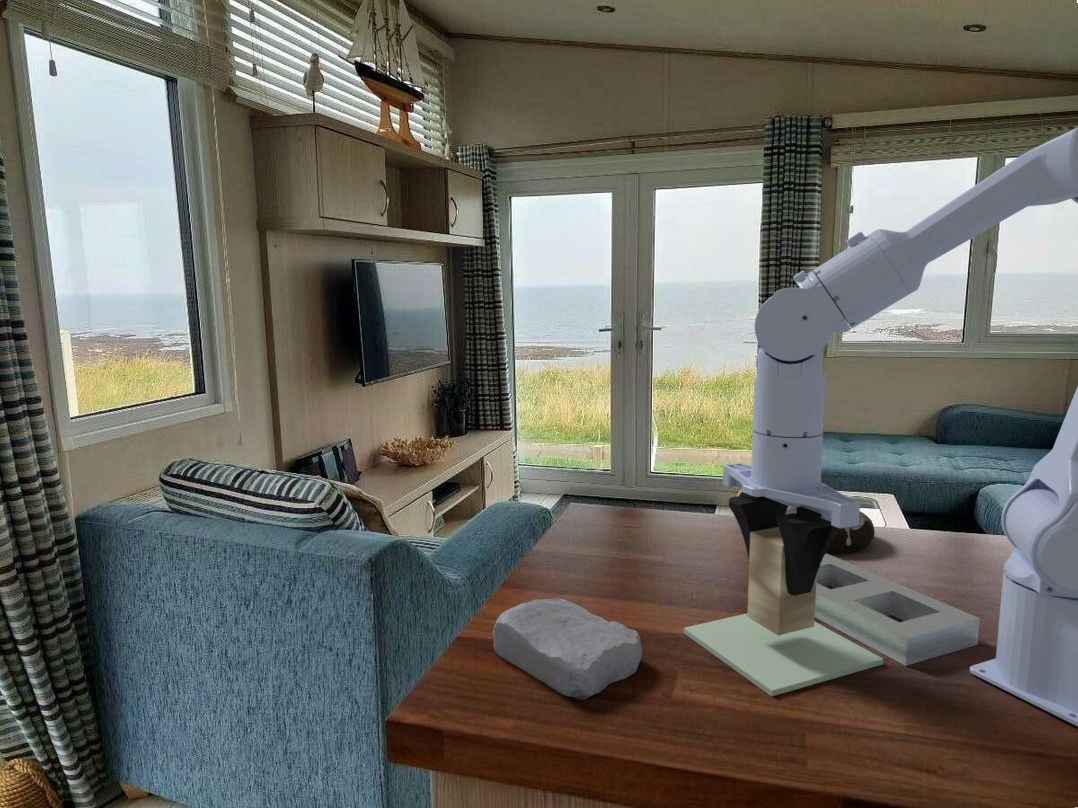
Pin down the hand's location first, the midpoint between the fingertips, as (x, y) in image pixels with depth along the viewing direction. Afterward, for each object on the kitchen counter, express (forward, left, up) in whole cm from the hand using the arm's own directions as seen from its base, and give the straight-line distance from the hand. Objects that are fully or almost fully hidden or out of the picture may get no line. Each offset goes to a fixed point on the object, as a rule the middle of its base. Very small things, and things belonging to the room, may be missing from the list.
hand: (780, 582), depth 65 cm
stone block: (+6, +17, -7) cm, 20 cm away
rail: (+2, -12, -6) cm, 14 cm away
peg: (0, 0, -4) cm, 4 cm away
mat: (0, 0, -6) cm, 6 cm away
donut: (+20, -25, -7) cm, 33 cm away
